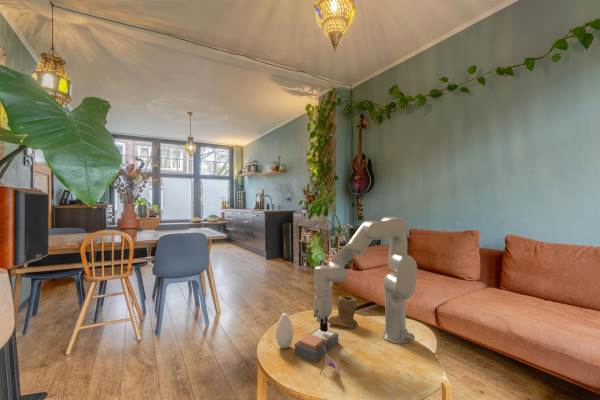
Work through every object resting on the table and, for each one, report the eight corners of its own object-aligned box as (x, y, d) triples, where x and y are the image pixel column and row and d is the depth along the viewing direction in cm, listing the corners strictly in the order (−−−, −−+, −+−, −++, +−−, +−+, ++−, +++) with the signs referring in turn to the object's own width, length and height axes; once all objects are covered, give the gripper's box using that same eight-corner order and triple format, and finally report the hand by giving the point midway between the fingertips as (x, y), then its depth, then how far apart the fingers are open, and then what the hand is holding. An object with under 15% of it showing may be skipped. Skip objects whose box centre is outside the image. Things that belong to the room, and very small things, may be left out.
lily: (335, 389, 101) (346, 363, 103) (307, 370, 104) (318, 346, 106) (338, 380, 112) (348, 356, 114) (312, 363, 116) (322, 341, 117)
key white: (334, 338, 131) (334, 333, 131) (326, 345, 125) (326, 339, 125) (319, 333, 136) (319, 328, 136) (310, 340, 130) (310, 334, 130)
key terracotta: (324, 344, 124) (324, 338, 124) (314, 352, 118) (314, 346, 118) (308, 339, 129) (308, 333, 129) (298, 346, 123) (298, 340, 123)
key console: (338, 343, 132) (338, 333, 132) (315, 362, 116) (315, 352, 116) (319, 336, 138) (318, 327, 138) (294, 354, 122) (294, 344, 122)
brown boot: (359, 322, 155) (359, 295, 155) (354, 331, 144) (354, 302, 144) (333, 317, 161) (333, 291, 161) (327, 326, 150) (327, 298, 150)
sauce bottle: (282, 341, 134) (281, 304, 134) (296, 345, 130) (295, 307, 130) (272, 349, 127) (272, 310, 127) (287, 353, 123) (287, 313, 123)
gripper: (324, 286, 139) (325, 323, 139) (307, 295, 127) (308, 335, 127) (337, 289, 135) (338, 326, 135) (321, 298, 123) (322, 339, 123)
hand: (324, 330), depth 131 cm, fingers closed
